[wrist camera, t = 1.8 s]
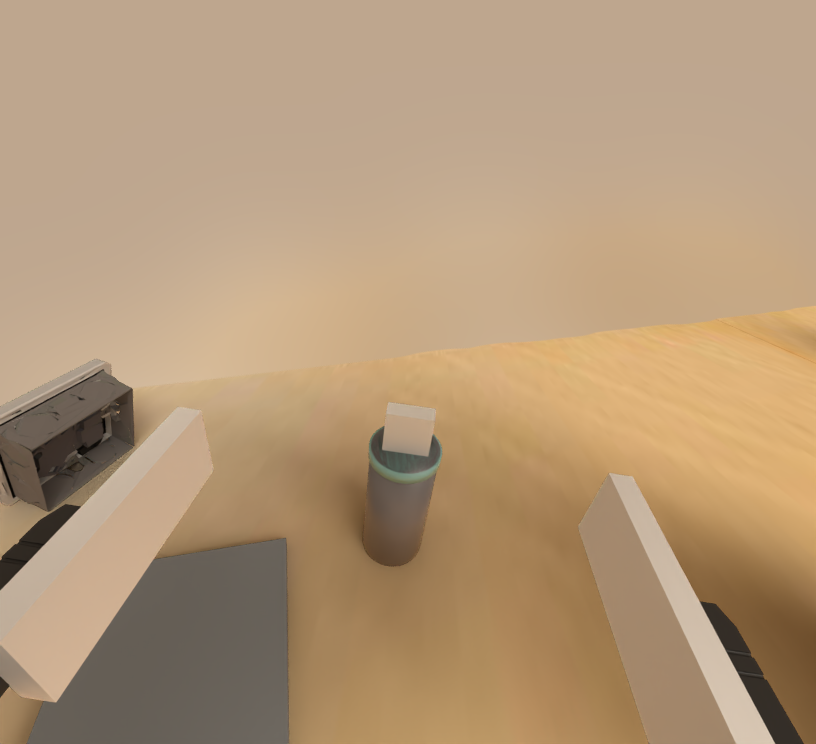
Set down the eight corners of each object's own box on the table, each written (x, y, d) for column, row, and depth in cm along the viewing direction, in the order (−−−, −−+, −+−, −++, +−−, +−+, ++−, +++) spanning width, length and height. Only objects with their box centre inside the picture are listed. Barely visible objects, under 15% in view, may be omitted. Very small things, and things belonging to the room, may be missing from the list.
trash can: (423, 517, 33) (449, 394, 26) (419, 572, 29) (450, 443, 22) (367, 509, 33) (378, 383, 26) (356, 562, 29) (365, 431, 22)
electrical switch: (109, 430, 37) (84, 348, 32) (156, 448, 37) (137, 368, 31) (-3, 507, 29) (-61, 416, 24) (53, 532, 29) (7, 444, 24)
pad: (286, 544, 29) (285, 538, 29) (289, 755, 20) (288, 750, 20) (99, 575, 26) (96, 568, 26) (-4, 846, 17) (-13, 842, 16)
